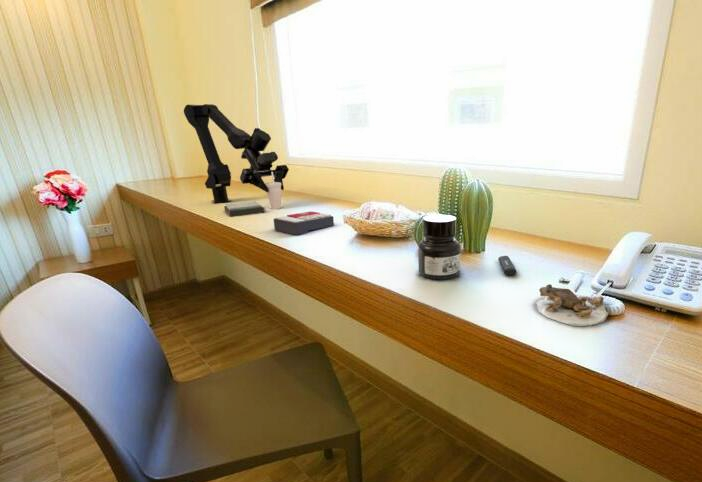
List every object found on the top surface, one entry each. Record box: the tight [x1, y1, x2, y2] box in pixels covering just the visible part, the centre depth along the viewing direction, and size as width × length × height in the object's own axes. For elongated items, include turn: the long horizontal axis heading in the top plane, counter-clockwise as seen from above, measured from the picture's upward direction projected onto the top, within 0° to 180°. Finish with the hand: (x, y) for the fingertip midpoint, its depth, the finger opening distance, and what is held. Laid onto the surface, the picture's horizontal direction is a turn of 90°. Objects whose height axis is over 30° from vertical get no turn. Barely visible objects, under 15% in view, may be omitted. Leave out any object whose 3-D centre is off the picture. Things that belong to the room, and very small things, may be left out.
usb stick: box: [498, 255, 517, 276], centre depth 86 cm, size 10×3×2 cm, turn 176°
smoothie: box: [264, 172, 282, 210], centre depth 153 cm, size 6×6×14 cm
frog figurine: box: [535, 284, 609, 327], centre depth 66 cm, size 12×12×4 cm
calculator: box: [273, 211, 335, 236], centre depth 123 cm, size 11×4×15 cm
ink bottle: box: [417, 214, 462, 281], centre depth 82 cm, size 10×9×12 cm
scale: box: [223, 200, 265, 217], centre depth 149 cm, size 12×12×3 cm
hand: (275, 190), depth 152 cm, fingers closed on smoothie, 6 cm apart
